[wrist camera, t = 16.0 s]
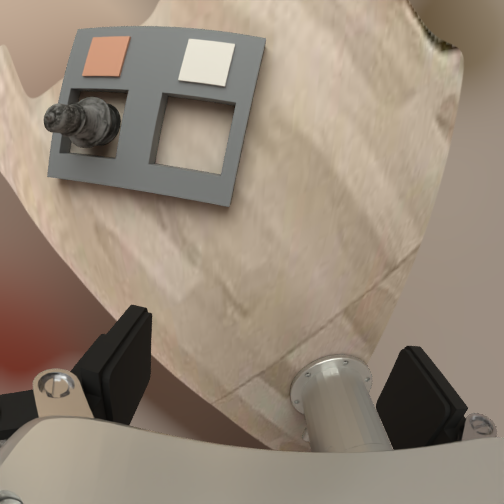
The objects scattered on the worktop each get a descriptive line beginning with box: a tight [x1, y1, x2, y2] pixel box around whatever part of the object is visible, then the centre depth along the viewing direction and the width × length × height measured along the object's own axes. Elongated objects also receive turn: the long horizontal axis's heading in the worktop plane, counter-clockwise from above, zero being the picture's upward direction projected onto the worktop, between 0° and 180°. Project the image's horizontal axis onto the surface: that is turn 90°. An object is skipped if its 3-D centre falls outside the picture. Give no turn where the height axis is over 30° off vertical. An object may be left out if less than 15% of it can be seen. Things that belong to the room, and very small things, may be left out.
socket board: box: [47, 26, 266, 207], centre depth 31 cm, size 19×23×3 cm
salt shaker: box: [44, 97, 121, 148], centre depth 27 cm, size 6×6×12 cm
